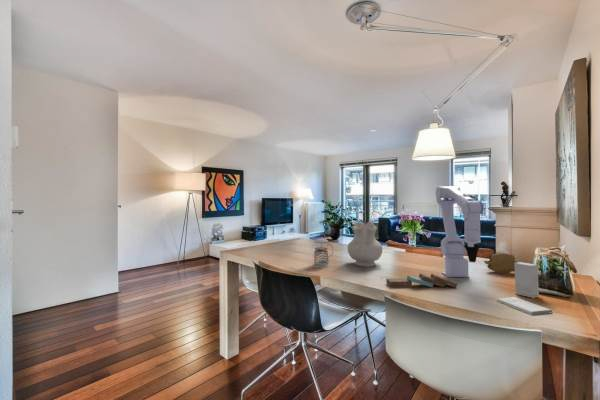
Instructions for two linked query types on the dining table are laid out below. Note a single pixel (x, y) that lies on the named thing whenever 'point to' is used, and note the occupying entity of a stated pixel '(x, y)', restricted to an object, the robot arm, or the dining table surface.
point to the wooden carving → (501, 263)
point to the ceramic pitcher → (364, 244)
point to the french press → (320, 251)
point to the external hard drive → (524, 305)
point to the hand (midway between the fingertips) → (472, 261)
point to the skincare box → (526, 279)
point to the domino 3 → (419, 281)
